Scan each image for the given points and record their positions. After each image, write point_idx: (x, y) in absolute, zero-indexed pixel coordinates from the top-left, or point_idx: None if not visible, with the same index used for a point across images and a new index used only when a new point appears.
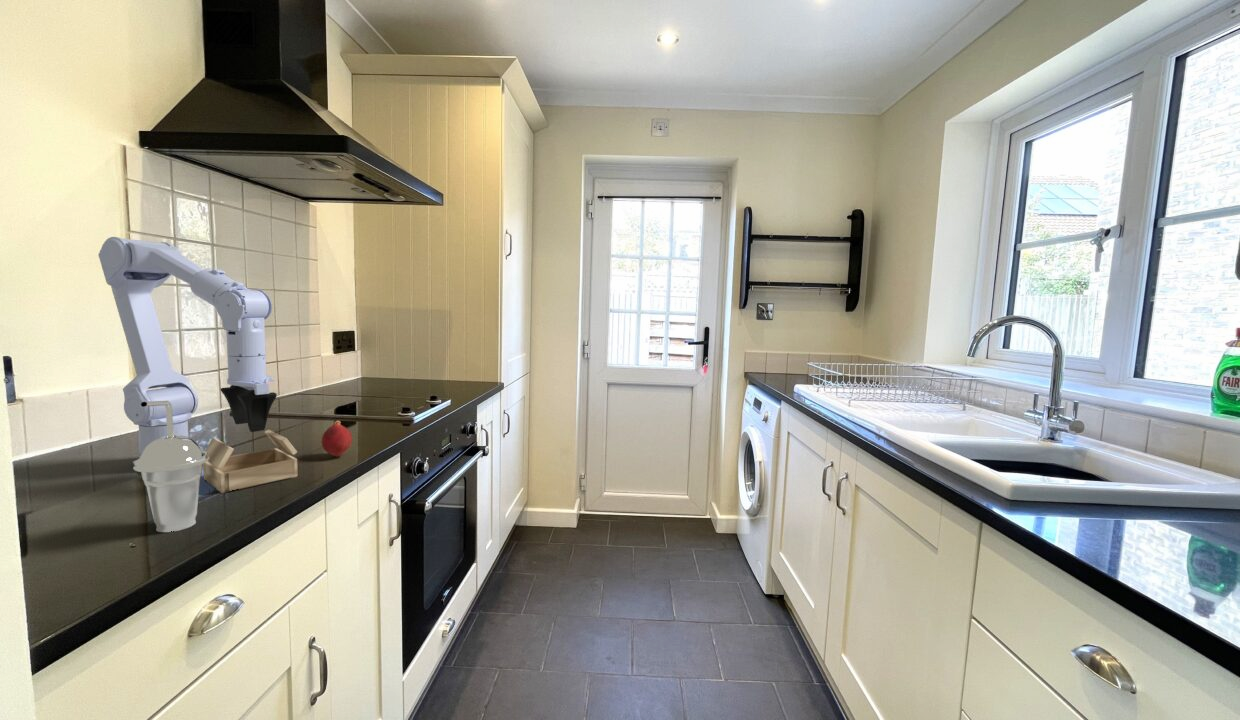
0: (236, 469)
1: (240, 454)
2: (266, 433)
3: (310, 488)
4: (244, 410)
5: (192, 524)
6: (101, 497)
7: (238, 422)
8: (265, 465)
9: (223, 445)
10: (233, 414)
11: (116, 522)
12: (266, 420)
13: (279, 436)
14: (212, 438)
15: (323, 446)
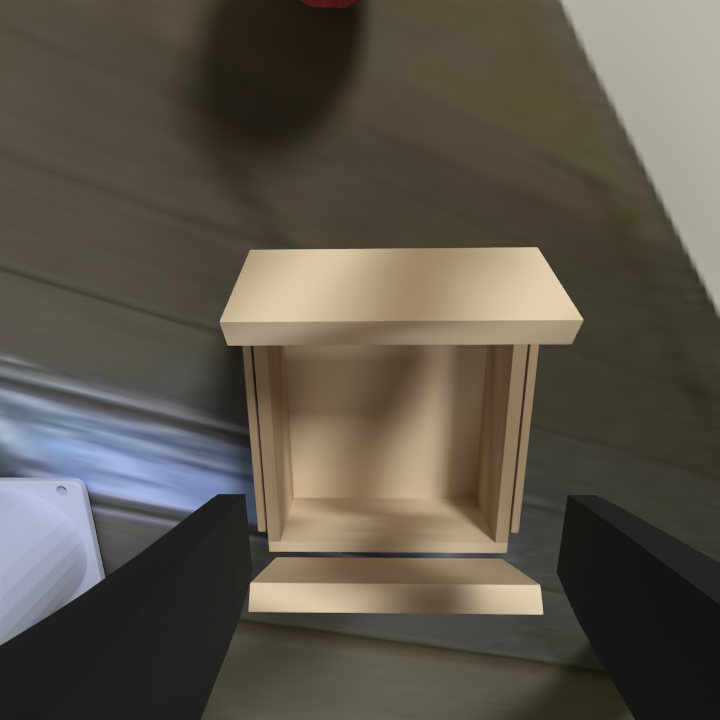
0: (286, 418)
1: (257, 424)
2: (258, 340)
3: (686, 278)
4: (189, 618)
5: None
6: (271, 695)
7: (244, 570)
8: (525, 403)
9: (453, 612)
10: (216, 671)
11: (505, 702)
12: (679, 542)
13: (472, 330)
14: (253, 611)
15: (330, 3)
